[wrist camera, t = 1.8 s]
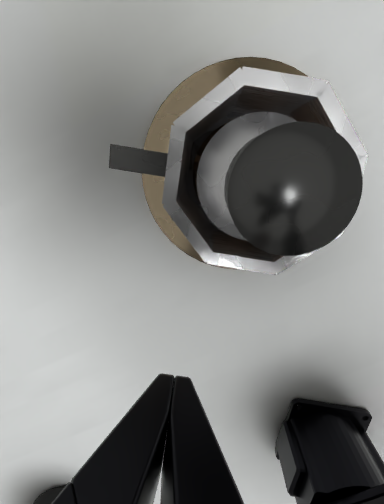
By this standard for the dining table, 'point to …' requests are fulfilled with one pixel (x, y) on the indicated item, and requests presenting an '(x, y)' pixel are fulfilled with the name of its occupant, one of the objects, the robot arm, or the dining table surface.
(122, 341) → the dining table surface
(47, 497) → the pen holder
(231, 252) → the moka pot
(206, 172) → the dark round knob
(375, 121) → the dining table surface
